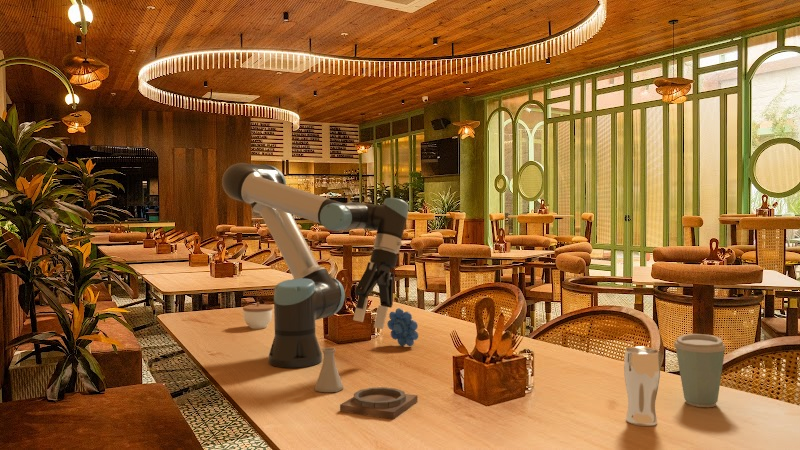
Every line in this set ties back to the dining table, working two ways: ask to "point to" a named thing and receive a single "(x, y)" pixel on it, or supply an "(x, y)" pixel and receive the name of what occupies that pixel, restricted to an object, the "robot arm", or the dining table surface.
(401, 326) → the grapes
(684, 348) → the disposable coffee cup
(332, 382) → the flask
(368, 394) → the walnut seat board
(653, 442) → the dining table surface
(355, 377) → the dining table surface
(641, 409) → the beer glass
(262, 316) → the lidded jar
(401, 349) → the dining table surface
